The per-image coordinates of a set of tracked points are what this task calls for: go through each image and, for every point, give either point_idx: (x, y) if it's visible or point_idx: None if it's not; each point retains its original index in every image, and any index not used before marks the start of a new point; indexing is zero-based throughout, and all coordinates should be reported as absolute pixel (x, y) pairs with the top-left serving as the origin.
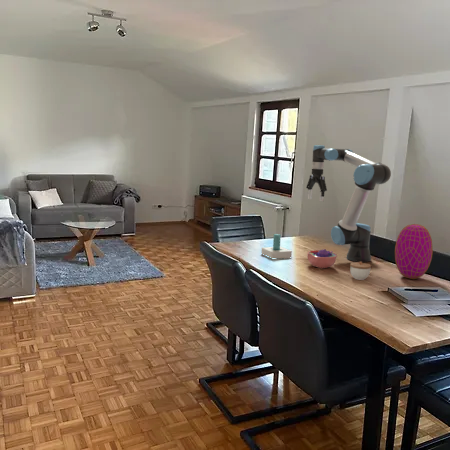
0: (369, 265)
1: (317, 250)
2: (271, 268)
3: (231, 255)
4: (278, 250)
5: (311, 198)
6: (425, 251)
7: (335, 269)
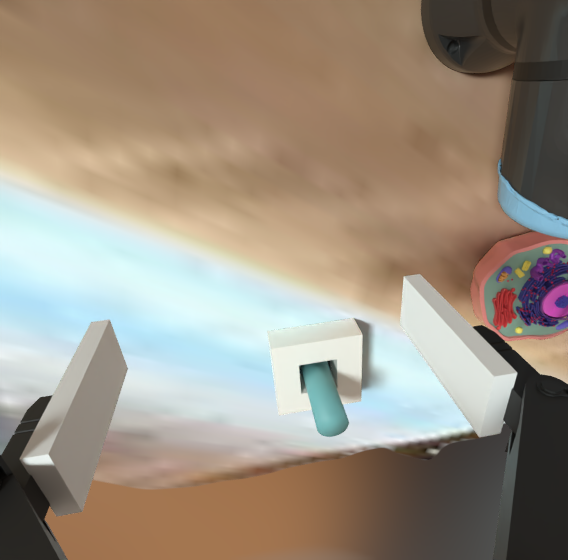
0: None
1: (485, 283)
2: (448, 408)
3: (271, 470)
4: (339, 376)
5: (107, 330)
6: None
7: None
